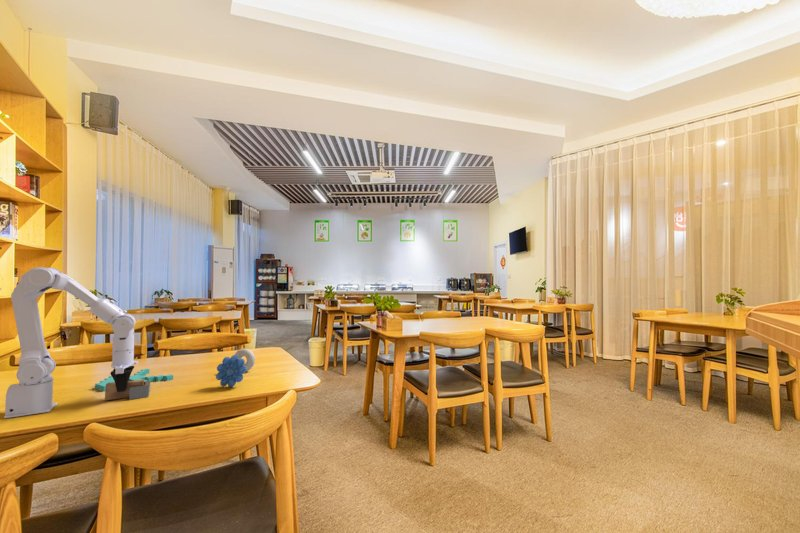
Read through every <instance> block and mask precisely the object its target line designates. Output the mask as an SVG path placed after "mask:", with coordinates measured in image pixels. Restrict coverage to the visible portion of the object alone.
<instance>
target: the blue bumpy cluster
mask: <svg viewBox="0 0 800 533" xmlns="http://www.w3.org/2000/svg"><path fill="white" fill-rule="evenodd" d="M238 359H239V358H238V356H237V355H235V354H233V355H232V356H231V357H229V356H225V357H224V358H223V359H222V362H221V363H219V364H218V365H217V366H216V371H217V373H216V375H215V380H218V381H220V382H219V384H220V386H222V387H225V386H228V388H233V387H234V386H235V385H236V384H237V383H242V381H243V380H244V376H243V375H244V374H245V373H246V372H247V371H246V370H247V368H246V367H245V366H243V365H244V364H245V363H246V362H245V361H246V360H245V359H244V358H242V359H239V360H238Z"/></svg>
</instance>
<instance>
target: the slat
mask: <svg viewBox="0 0 800 533" xmlns="http://www.w3.org/2000/svg"><path fill="white" fill-rule="evenodd" d="M139 385H144V379H142V380H132V381H128V383H127V388H126V390H125V391H123V392H117V389H116V385H115V382H112V383H107V384H106V390H105V391H104V401H109V400H117V399H118V400H119V399H126V398H129V391H130V387H132V386H139Z"/></svg>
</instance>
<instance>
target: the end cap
mask: <svg viewBox="0 0 800 533" xmlns="http://www.w3.org/2000/svg"><path fill="white" fill-rule="evenodd" d="M150 393H151V382H150V381H144V385H139V386H132V387H130V391H129V397H128V398H129V399H128V400H137V399H143V398H149V397H150Z"/></svg>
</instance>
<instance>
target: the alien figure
mask: <svg viewBox="0 0 800 533" xmlns="http://www.w3.org/2000/svg"><path fill="white" fill-rule="evenodd" d="M147 374H148V376H147ZM149 374H150V368H142V369H140V371H137V372H136V373H134V374H133V375H130V378H129V381H132V380H142V379H144V381H150V383H151V382H163V381H166V382H169V381H172V380H174V374H172V373H171V374H164V375H163V374H159V375H149ZM112 382H115V381H114V379H113V377H112V376H111V375H108V377H107V378H104V379H103V380H99V382H97V383H95V384H94V385H95V386H94V388H95V389H96V390H99V391H102V392H105V390H106V384H107V383H112Z"/></svg>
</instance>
